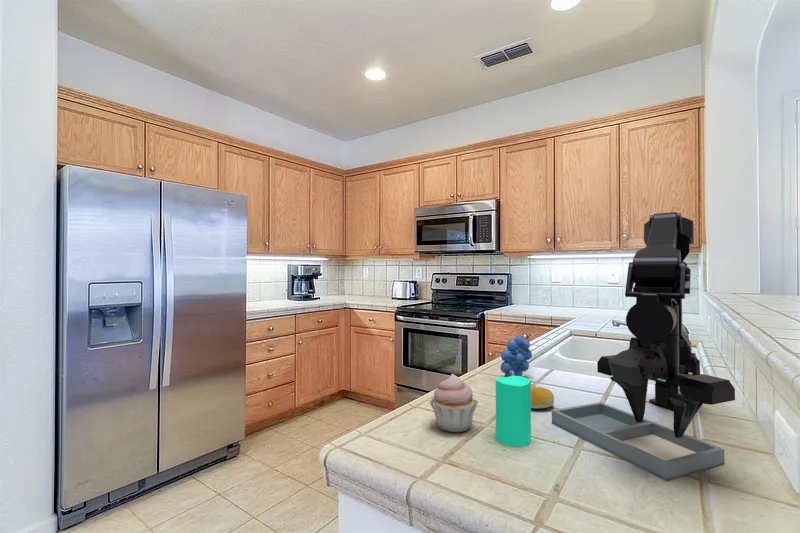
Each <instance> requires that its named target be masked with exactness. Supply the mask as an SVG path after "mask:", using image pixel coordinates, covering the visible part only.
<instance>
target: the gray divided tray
mask: <svg viewBox="0 0 800 533" xmlns="http://www.w3.org/2000/svg"><path fill="white" fill-rule="evenodd" d="M551 424H553V425H555V426H556V427H559V428H560V429H562V430H565V431H566V432H569V433H570V434H572V435H575V436H576V437H578V438H580V439H582V440H584V441H586V442H587V443H589V444H591V445H594V446H595V447H598V448H600V449H602V450H604V451H605V452H608V453H610V454H612V455H614V456H615V457H618V458H620V459H621V460H624V461H626V462H628V463H629V464H632V465H633V466H635V467H638V468H640V469H641V470H644V471H646V472H648V473H649V474H651V475H653V476H655V477H658V478H659V479H661V480H664V481H665V482H670V481H673V480H677V479H680V478H683V477H686V476H690V475H693V474H696V473H701V472H703V471H706V470H709V469H714V468H716V467H720V466H724V465H725V448H722V447H720V446H717V445H715V444H712V443H709V442H707V441H705V440H701V439H698V438H696V437H693V436H691V435H688V434H685V433H684V434H683V436H682V437H681V438H676V437H675V435H674V428H670V427H667V426H665V425H661V424H659V423H656V422H655V421H651V420H649V419H646V418H645V417H644V418H643V421H642V422H640V423H638V422H636V420H635V417H634V415H633V413H630V412H629V411H628V412H627V411H625V410H623V409H620V408H617V407H614V406H613V405H609V404H606V403H604V402H600V401H599V402H593V403H587V404H582V405H581V404H580V405H575V406H569V407H564V408H558V409H552V410H551Z"/></svg>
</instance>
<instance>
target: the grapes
mask: <svg viewBox="0 0 800 533" xmlns="http://www.w3.org/2000/svg"><path fill="white" fill-rule="evenodd" d="M505 346H506V349H504V350H502V352H501V354H500V357H501V360H502V361H503V362H502V363H501V364H500V367H499V368H500V371H501V372H502V373H503V374H504V377H509V376H512V371H513V376H522V377H523V372H524V373H525V372H526V371H528V369H530V363H529V360H530V359H532V356H533V352H532V351H531V349H529V348H530V347H531V343H530V341H529V339H527V338H526V339H524V336H522V335H521V334H519V335H516V336H515V338H514V339H509V340H508V341H507V342H506V345H505Z"/></svg>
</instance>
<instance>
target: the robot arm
mask: <svg viewBox="0 0 800 533" xmlns="http://www.w3.org/2000/svg"><path fill="white" fill-rule="evenodd" d="M694 225H695V223H694V220H692V219H689V218H687V217H684V216H683V215H682V212H677V211H674V212H673V211H672V212H657V213H654V214H650V215H649V220H648V221H646V222H645V223H644V224H643V242H644V244H645V247H643V248H641V249H639V250H636V252H635V255H634V256H633V258H632V262H629V263H628V265H627V266H628V268H627V277H626V284H625V292H624V296H625V298H635V299H636V300H635V304H634V305H632V306H631V307H630V308H629V310H628V311H627V313H626V316H625V323H626V326H627V329H628V331H629V332H630V333H631V334H632V335H633V337H630V340H629V345H628V348H627V349H625V350H622V351H620V352H618V353H617V354H613V355H612V354H611V355H604V356H603V355H602V356H600V358H599V360H598V361H597V362H596V363H597V368H596V369H597V371H596V372H597V373H600V374H603V375H606V376H610V377H609V378H610V380H611V382H615V383H616V384H617V385H618V386H619V387H620V388H622V390H623V392H624V395H625V398H626V399H627V401H628V404H629V406H630V410H631V412H632V414H633V415H634V417H635V420H636V422H638V423H640V422H642V421H643V418H644V419H645V412H646V403H647V394H648V385H649V384H648V383H649V380H650V381H654V382H655V383H654V398H650V399H648V402H649V403H651V404H654V405H657V406H659V407H660V406H661V407H663V408H667V409H669V410H672V411H673V430H674V435H675V437H676V438H681V437H682V436H683V434H685V432H686V431H687V429H688V427H689V425H690V423H691V422H692V420H693V419H694V417H695V416H696V414H697V412H699V410H700V409H701V407H702V406H703V405H718V404H723V403H727V402H733V401H736V388H735V386H733V384H732V383H731V381H730V379H726V378H723V377H717V376H713V375H710V374H709V375H708V374H704V373H701V362H700V360H699V358H698V357H697V356H696V353H695V352H693V351H692V347H693V346H692V342H691V340H690V339H689V338H688V336H687V335H686V334H685V332H684V331H683V300H685V298H686V295H690V294H691V279H692V278H691V276H692V275H691V274H692V273H691V272H692V271H691V270H692V269H691V268H689V267H688V263H687V262H686V261H684V260H685V259H686V258H687V256H688V255H689V254H690V252H691V245H695V226H694Z"/></svg>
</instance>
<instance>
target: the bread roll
mask: <svg viewBox="0 0 800 533" xmlns="http://www.w3.org/2000/svg"><path fill="white" fill-rule="evenodd" d="M554 403H555V396H554V393H553V392H552V391H551V390H550V389H549V388H545V387H541V386H535V384H532V383H531V409H547V408H549V407H552V406H553V405H554Z"/></svg>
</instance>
